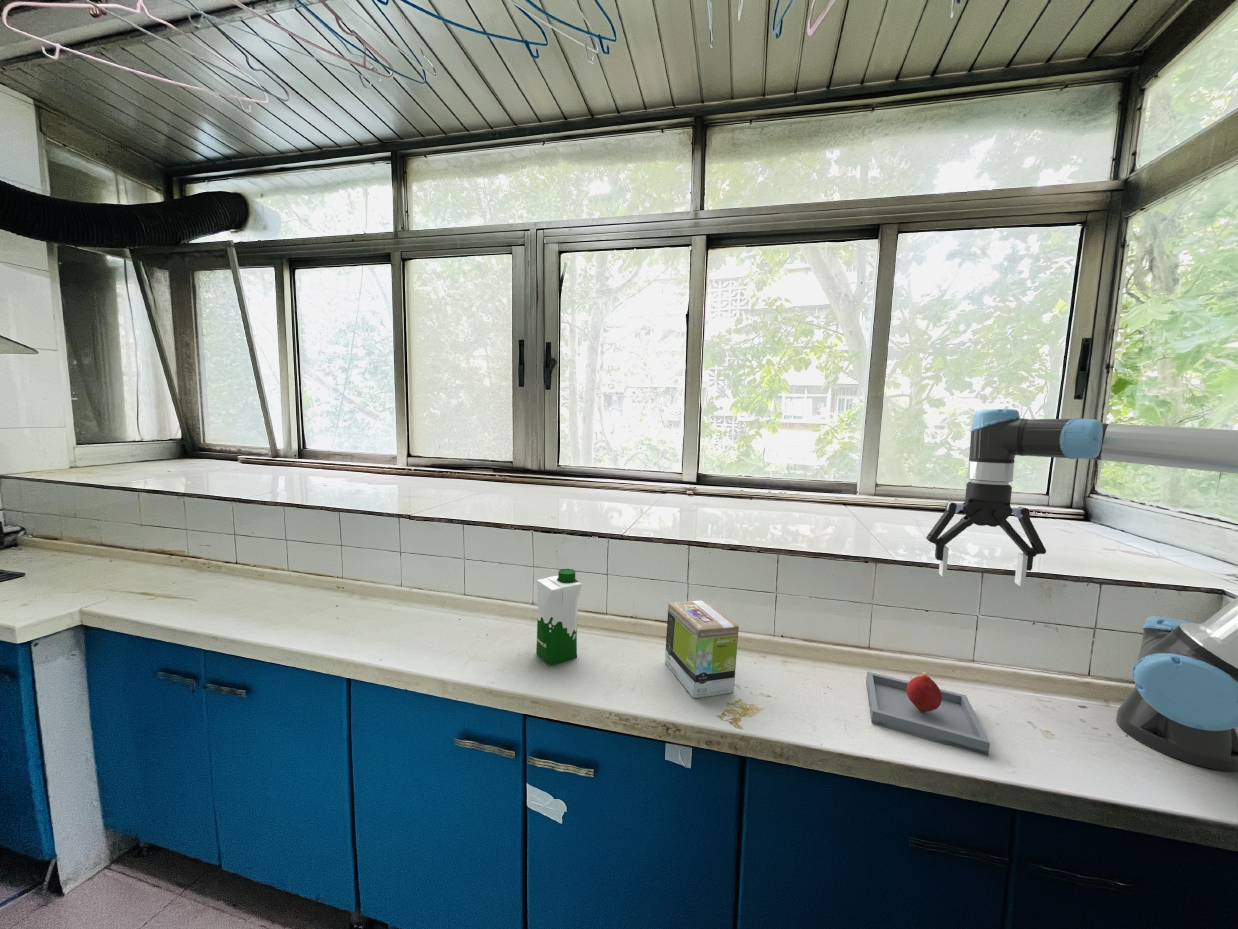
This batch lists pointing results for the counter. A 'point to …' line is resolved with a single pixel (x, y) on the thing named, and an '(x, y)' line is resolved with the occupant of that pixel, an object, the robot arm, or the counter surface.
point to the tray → (925, 715)
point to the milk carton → (557, 617)
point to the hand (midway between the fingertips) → (979, 580)
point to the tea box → (701, 648)
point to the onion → (924, 693)
